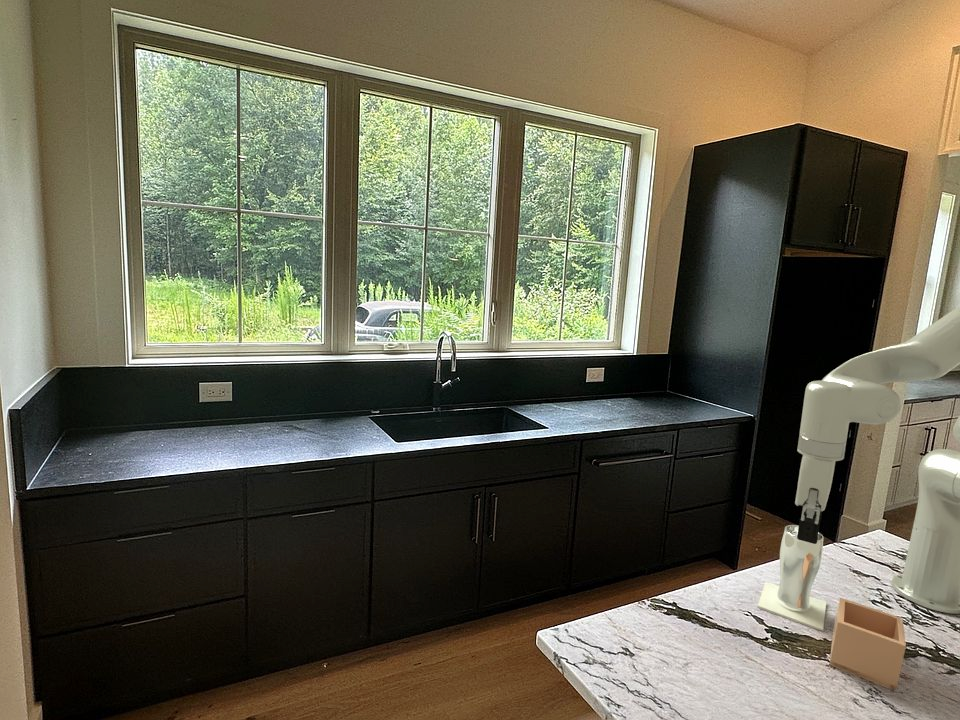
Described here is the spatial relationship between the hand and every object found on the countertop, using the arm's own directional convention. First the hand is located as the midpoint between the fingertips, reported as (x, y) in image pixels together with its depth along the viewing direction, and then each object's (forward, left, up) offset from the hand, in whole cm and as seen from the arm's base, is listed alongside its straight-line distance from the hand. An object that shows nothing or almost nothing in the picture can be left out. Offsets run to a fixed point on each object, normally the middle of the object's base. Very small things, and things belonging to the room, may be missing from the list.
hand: (809, 531), depth 106 cm
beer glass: (0, -1, -16) cm, 16 cm away
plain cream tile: (+1, -1, -16) cm, 16 cm away
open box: (+12, +11, -16) cm, 23 cm away
